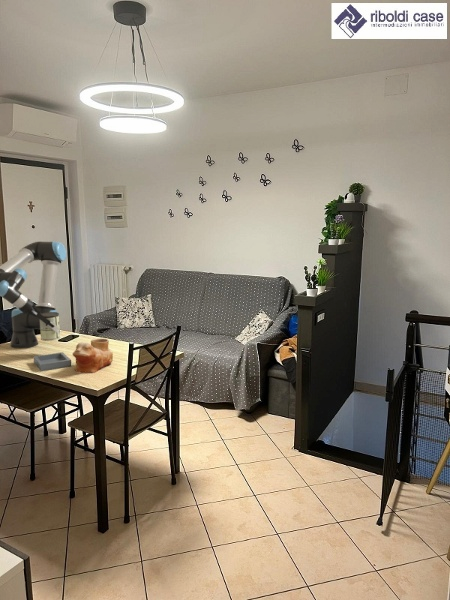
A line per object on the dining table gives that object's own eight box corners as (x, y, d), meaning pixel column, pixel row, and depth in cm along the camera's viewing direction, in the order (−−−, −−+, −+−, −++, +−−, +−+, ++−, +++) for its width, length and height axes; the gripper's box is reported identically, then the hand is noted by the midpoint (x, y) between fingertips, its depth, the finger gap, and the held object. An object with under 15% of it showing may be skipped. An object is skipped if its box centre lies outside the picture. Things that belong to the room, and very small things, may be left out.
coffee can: (38, 337, 250) (37, 313, 247) (57, 335, 256) (56, 311, 253) (42, 342, 242) (41, 316, 239) (62, 339, 247) (60, 314, 245)
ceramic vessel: (65, 373, 220) (63, 344, 218) (97, 359, 245) (96, 332, 242) (88, 377, 216) (87, 347, 213) (119, 361, 240) (118, 334, 237)
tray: (33, 362, 237) (33, 356, 236) (62, 358, 245) (62, 352, 244) (41, 371, 223) (40, 364, 222) (71, 366, 231) (71, 359, 230)
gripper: (14, 305, 246) (46, 329, 257) (22, 312, 228) (56, 338, 239) (24, 295, 248) (55, 319, 259) (32, 301, 229) (65, 327, 241)
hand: (55, 328), depth 249 cm, fingers closed on coffee can, 10 cm apart
